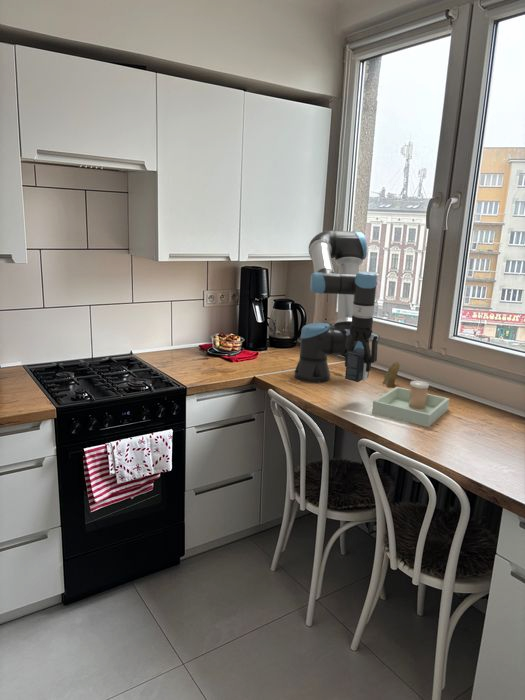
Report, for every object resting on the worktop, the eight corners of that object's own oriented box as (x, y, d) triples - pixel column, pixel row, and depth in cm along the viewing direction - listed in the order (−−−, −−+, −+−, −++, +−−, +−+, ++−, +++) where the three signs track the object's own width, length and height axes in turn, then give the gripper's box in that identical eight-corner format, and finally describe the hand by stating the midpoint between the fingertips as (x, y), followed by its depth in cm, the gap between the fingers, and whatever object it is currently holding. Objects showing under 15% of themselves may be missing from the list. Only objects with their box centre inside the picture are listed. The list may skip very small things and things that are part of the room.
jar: (404, 406, 195) (407, 383, 193) (411, 401, 200) (413, 379, 198) (422, 410, 191) (425, 387, 189) (428, 406, 196) (431, 383, 194)
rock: (397, 386, 213) (408, 378, 220) (386, 368, 214) (398, 360, 221) (377, 396, 221) (389, 387, 228) (367, 378, 222) (378, 370, 229)
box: (355, 374, 201) (357, 347, 199) (368, 377, 198) (371, 350, 195) (344, 378, 196) (346, 351, 193) (357, 382, 192) (360, 354, 189)
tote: (371, 414, 187) (373, 401, 186) (395, 399, 205) (396, 386, 204) (428, 429, 176) (429, 415, 175) (447, 411, 194) (449, 398, 193)
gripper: (334, 313, 193) (329, 374, 199) (383, 322, 182) (376, 385, 189) (343, 310, 198) (338, 369, 205) (391, 318, 188) (384, 380, 194)
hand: (356, 377), depth 197 cm, fingers closed on box, 6 cm apart
